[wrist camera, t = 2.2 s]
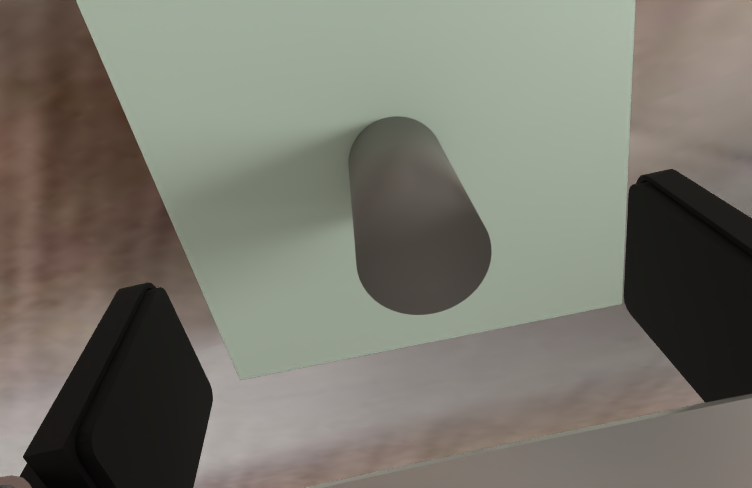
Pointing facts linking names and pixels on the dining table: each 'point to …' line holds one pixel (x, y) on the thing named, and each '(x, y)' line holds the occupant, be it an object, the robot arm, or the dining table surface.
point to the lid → (381, 162)
